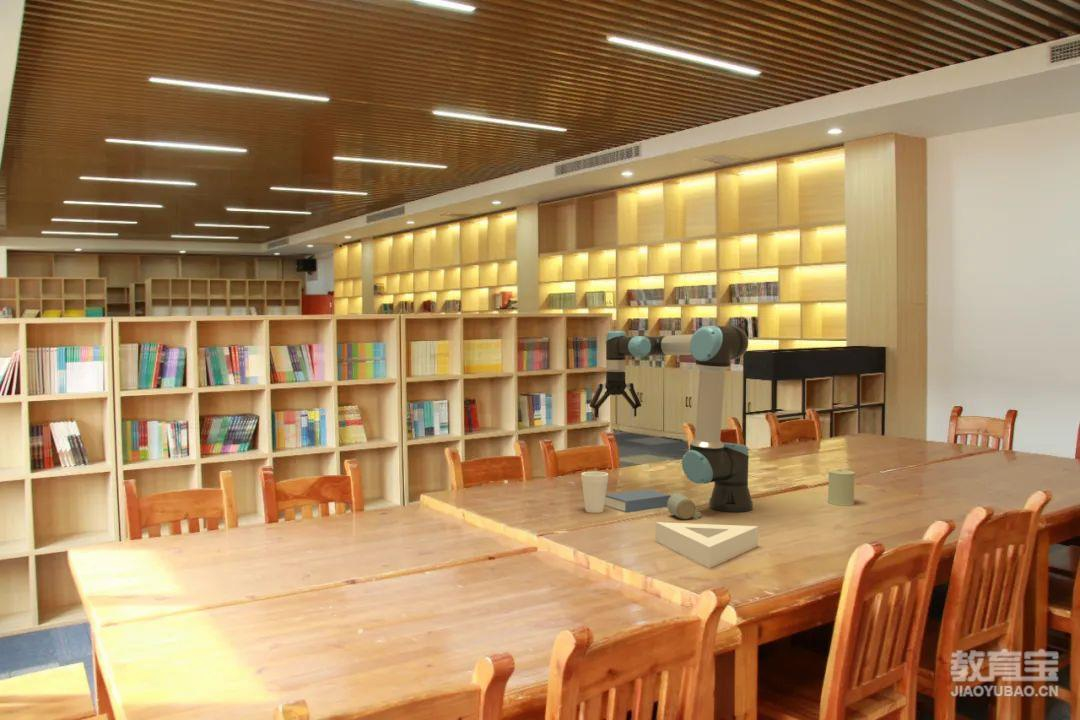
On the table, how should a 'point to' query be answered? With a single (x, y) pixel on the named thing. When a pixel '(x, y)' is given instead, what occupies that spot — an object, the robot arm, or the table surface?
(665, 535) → the triangle block
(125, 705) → the table surface
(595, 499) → the foam cup
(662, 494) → the book
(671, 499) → the ceramic mug
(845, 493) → the can
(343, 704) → the table surface
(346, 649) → the table surface
